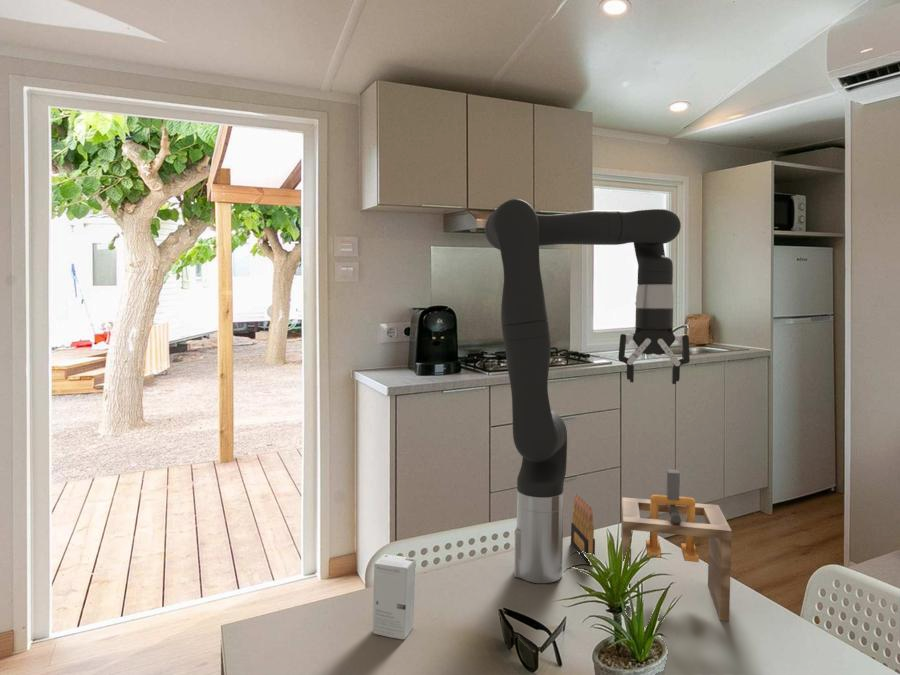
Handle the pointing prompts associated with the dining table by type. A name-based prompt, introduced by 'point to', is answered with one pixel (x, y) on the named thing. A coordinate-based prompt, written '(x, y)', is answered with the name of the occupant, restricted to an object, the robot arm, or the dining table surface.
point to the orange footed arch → (673, 499)
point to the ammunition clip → (582, 528)
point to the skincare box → (394, 596)
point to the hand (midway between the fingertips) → (652, 382)
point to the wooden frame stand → (713, 529)
